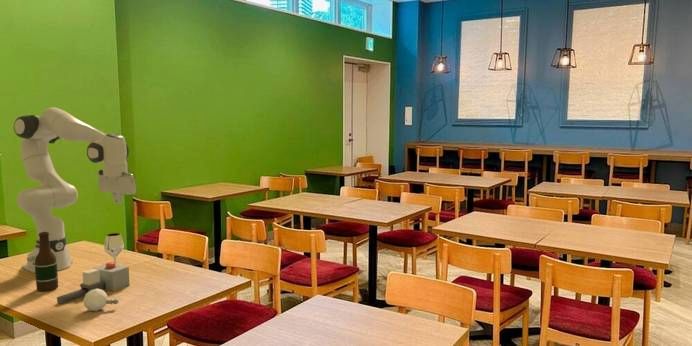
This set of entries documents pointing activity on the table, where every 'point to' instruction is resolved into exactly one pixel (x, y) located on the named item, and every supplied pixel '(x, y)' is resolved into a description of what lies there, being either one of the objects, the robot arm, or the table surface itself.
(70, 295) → the rail
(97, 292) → the perfume bottle
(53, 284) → the beer bottle
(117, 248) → the wineglass
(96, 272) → the cream box
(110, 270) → the grey holed block
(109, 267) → the plunger
